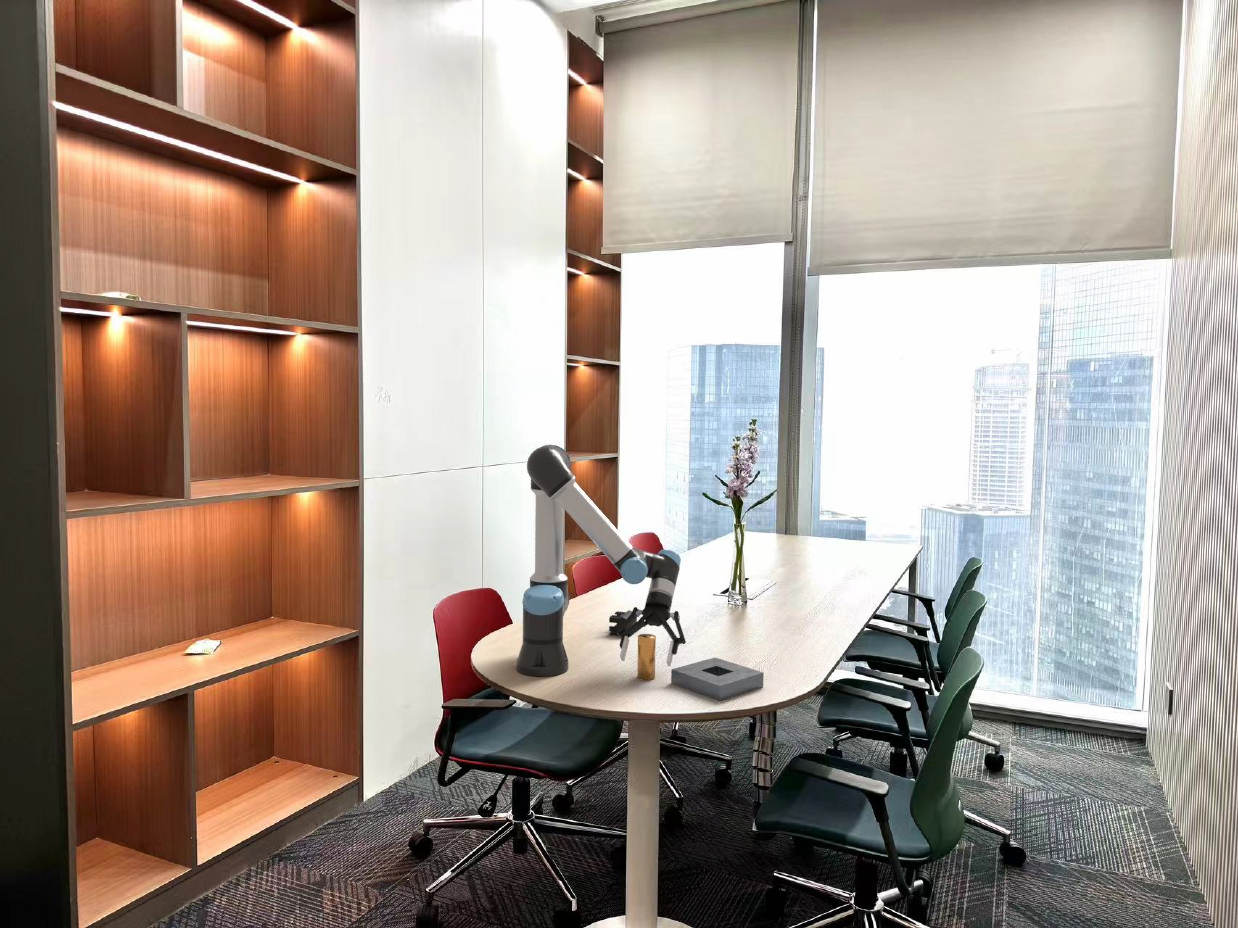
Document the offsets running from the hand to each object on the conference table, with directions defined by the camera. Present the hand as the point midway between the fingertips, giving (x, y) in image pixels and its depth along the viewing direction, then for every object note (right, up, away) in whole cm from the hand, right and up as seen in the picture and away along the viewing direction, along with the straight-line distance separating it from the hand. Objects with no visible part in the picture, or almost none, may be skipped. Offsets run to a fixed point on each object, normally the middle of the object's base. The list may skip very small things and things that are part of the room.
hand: (645, 661), depth 234 cm
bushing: (0, -5, +2) cm, 6 cm away
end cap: (-6, -2, +50) cm, 50 cm away
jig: (+20, -6, -3) cm, 21 cm away
